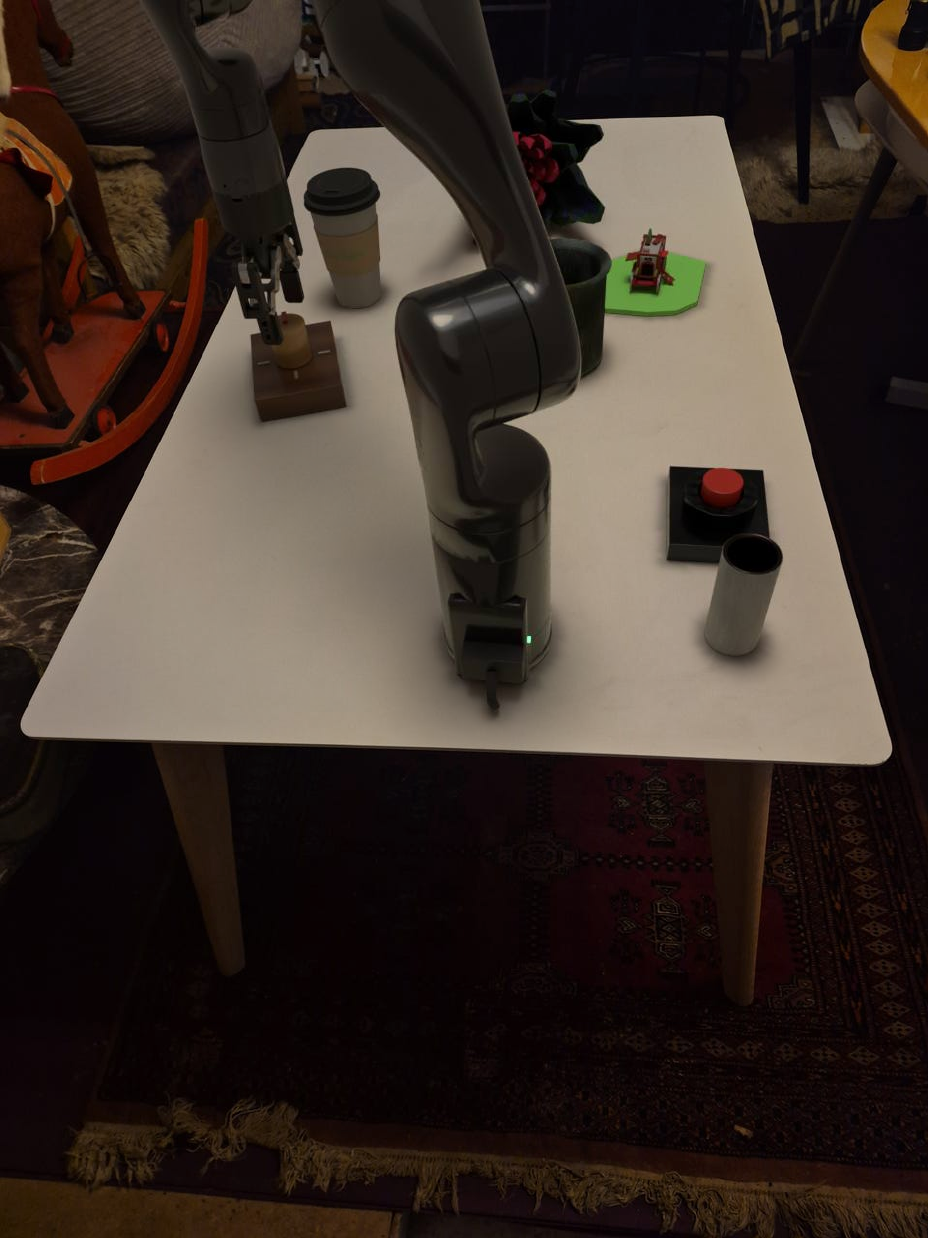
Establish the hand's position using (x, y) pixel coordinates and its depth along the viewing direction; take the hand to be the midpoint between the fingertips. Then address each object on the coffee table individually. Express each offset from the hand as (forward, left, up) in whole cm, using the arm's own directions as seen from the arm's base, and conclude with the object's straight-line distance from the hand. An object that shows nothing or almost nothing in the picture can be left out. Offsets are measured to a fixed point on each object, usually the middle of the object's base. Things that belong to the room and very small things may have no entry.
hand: (285, 321), depth 98 cm
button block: (-21, -48, -8) cm, 53 cm away
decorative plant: (+36, -23, -8) cm, 43 cm away
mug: (+6, -29, -8) cm, 31 cm away
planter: (-35, -49, -8) cm, 61 cm away
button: (-21, -48, -4) cm, 53 cm away
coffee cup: (+19, -3, -8) cm, 21 cm away
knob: (0, 0, -5) cm, 5 cm away
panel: (0, 0, -8) cm, 8 cm away
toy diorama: (+23, -40, -8) cm, 47 cm away
